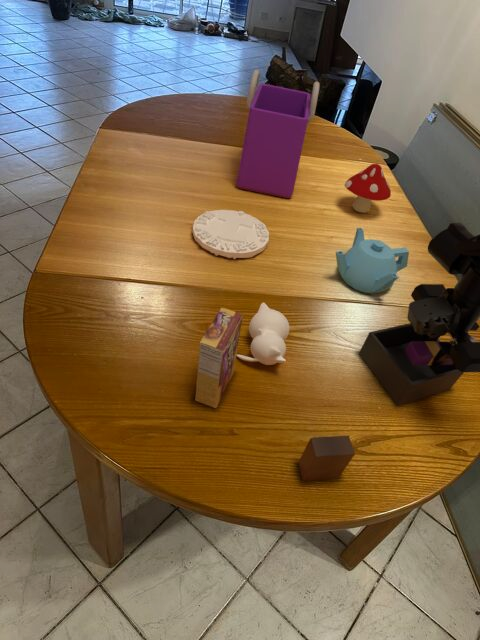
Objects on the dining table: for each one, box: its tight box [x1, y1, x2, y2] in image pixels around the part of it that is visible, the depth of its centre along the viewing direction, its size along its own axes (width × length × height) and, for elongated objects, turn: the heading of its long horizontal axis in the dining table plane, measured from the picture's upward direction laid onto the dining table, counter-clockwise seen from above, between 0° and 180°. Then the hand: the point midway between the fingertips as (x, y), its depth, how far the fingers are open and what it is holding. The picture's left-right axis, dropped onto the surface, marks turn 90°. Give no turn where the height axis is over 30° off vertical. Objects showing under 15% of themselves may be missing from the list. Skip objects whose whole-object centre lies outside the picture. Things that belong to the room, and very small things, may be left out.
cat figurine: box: [236, 302, 291, 366], centre depth 81 cm, size 9×11×12 cm
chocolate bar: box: [405, 340, 453, 365], centre depth 77 cm, size 8×4×2 cm, turn 98°
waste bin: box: [358, 322, 465, 407], centre depth 82 cm, size 13×13×6 cm
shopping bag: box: [236, 69, 321, 199], centre depth 128 cm, size 28×22×30 cm
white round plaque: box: [191, 209, 270, 260], centre depth 109 cm, size 20×20×3 cm
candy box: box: [194, 307, 244, 409], centre depth 70 cm, size 9×4×15 cm, turn 160°
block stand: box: [297, 435, 356, 482], centre depth 64 cm, size 6×3×8 cm, turn 98°
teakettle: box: [335, 227, 410, 295], centre depth 101 cm, size 15×15×11 cm
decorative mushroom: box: [344, 163, 392, 214], centre depth 125 cm, size 14×14×15 cm
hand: (428, 356), depth 77 cm, fingers closed on chocolate bar, 4 cm apart
